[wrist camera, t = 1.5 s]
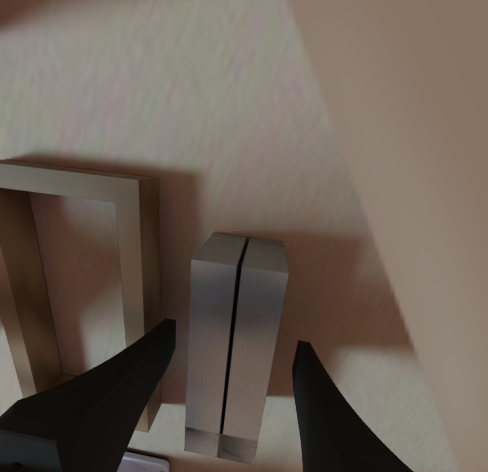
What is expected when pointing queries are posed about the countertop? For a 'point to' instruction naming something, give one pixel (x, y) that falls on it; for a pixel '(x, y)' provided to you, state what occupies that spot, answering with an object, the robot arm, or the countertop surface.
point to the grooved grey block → (232, 342)
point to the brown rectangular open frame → (31, 272)
